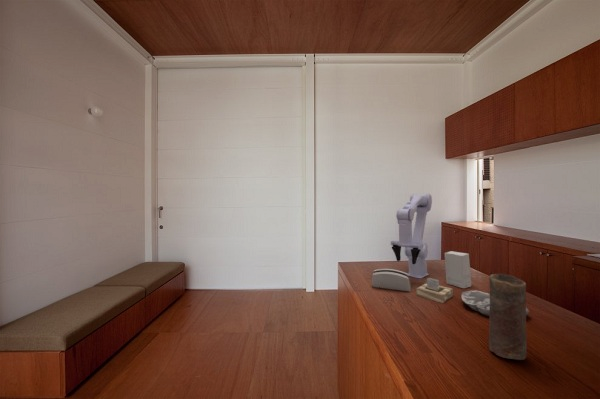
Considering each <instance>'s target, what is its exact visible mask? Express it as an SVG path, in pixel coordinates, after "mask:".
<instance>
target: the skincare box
mask: <svg viewBox="0 0 600 399" xmlns="http://www.w3.org/2000/svg"><path fill="white" fill-rule="evenodd" d="M470 262H471V261H470V254H469V253H466V252H460V251H459V252H458V251H453V250H451V251H447V252H444V263H445V264H444V266H445V267H444V268H445V280H446V284H447V285H451V286H454V287H457V288H461V289H467V288H470V287H472V276H471V265H470Z"/></svg>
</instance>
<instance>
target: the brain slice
mask: <svg viewBox="0 0 600 399" xmlns="http://www.w3.org/2000/svg"><path fill="white" fill-rule="evenodd" d="M460 298H461V300H462V302H463V304H465V305H467V306H468V307H469V308H470V309H471V310H473V311H475V312H479V313H480V314H482V315H484V316H488V317H490V293H488V292H485V291H481V290H468V291H463V292H461V294H460ZM529 313H530V309H529V308H527V307H526V315H528V314H529Z"/></svg>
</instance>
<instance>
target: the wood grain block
mask: <svg viewBox="0 0 600 399" xmlns="http://www.w3.org/2000/svg"><path fill="white" fill-rule="evenodd" d="M426 283H427V289H428V290H432V291H436V292H441V291H439V286H440V280H439V279H436V278H431V277H427V278H426Z"/></svg>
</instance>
